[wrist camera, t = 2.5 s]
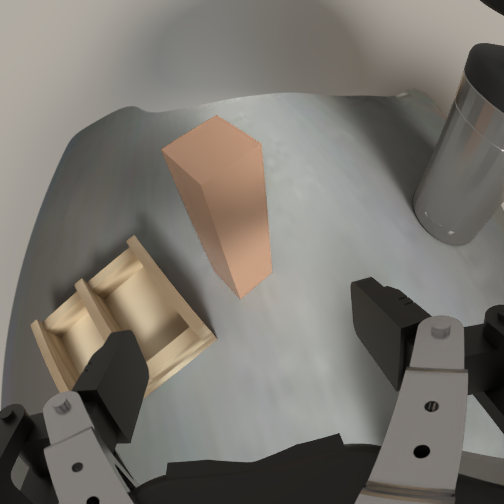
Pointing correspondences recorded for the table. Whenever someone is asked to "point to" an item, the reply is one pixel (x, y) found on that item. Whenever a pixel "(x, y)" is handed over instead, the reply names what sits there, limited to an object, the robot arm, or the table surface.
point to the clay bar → (225, 199)
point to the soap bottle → (482, 467)
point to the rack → (123, 321)
